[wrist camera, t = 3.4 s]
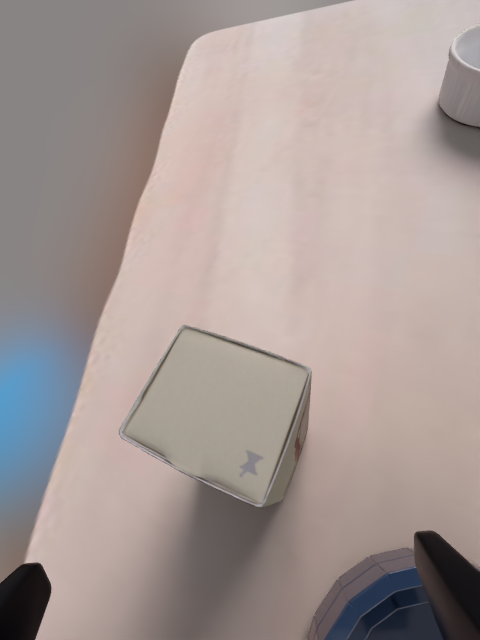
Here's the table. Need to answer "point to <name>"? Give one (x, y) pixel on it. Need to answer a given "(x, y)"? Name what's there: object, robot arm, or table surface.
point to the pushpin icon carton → (224, 415)
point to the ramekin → (463, 78)
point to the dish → (377, 602)
